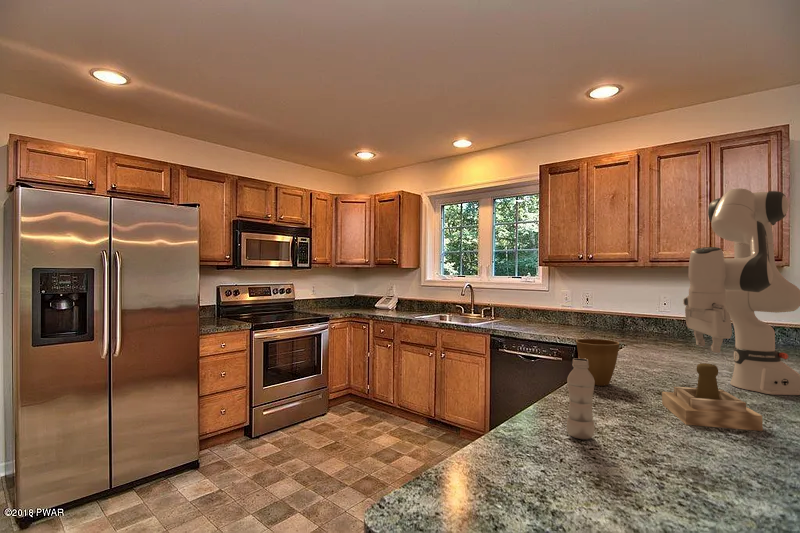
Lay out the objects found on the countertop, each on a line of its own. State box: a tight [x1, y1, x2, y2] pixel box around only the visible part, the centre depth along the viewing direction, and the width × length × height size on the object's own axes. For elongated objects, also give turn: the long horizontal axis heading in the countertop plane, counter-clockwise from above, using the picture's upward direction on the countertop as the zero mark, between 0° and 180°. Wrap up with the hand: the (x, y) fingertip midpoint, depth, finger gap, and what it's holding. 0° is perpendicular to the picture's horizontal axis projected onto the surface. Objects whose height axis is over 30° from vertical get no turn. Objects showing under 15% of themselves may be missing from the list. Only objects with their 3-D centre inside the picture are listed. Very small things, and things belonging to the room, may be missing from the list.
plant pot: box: [575, 338, 620, 387], centre depth 156 cm, size 15×15×16 cm
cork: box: [696, 362, 720, 400], centre depth 121 cm, size 6×6×11 cm
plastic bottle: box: [566, 357, 596, 440], centre depth 106 cm, size 6×7×20 cm
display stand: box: [661, 386, 764, 432], centre depth 121 cm, size 18×18×6 cm
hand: (707, 348), depth 121 cm, fingers open, 8 cm apart
